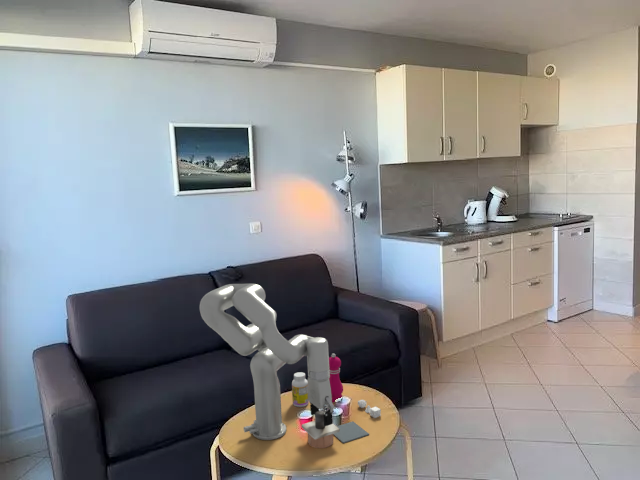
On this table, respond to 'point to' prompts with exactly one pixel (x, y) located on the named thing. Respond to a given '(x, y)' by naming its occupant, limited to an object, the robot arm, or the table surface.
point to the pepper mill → (335, 377)
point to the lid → (319, 427)
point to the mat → (350, 432)
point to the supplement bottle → (300, 390)
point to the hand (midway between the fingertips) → (321, 419)
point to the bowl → (320, 441)
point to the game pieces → (370, 409)
